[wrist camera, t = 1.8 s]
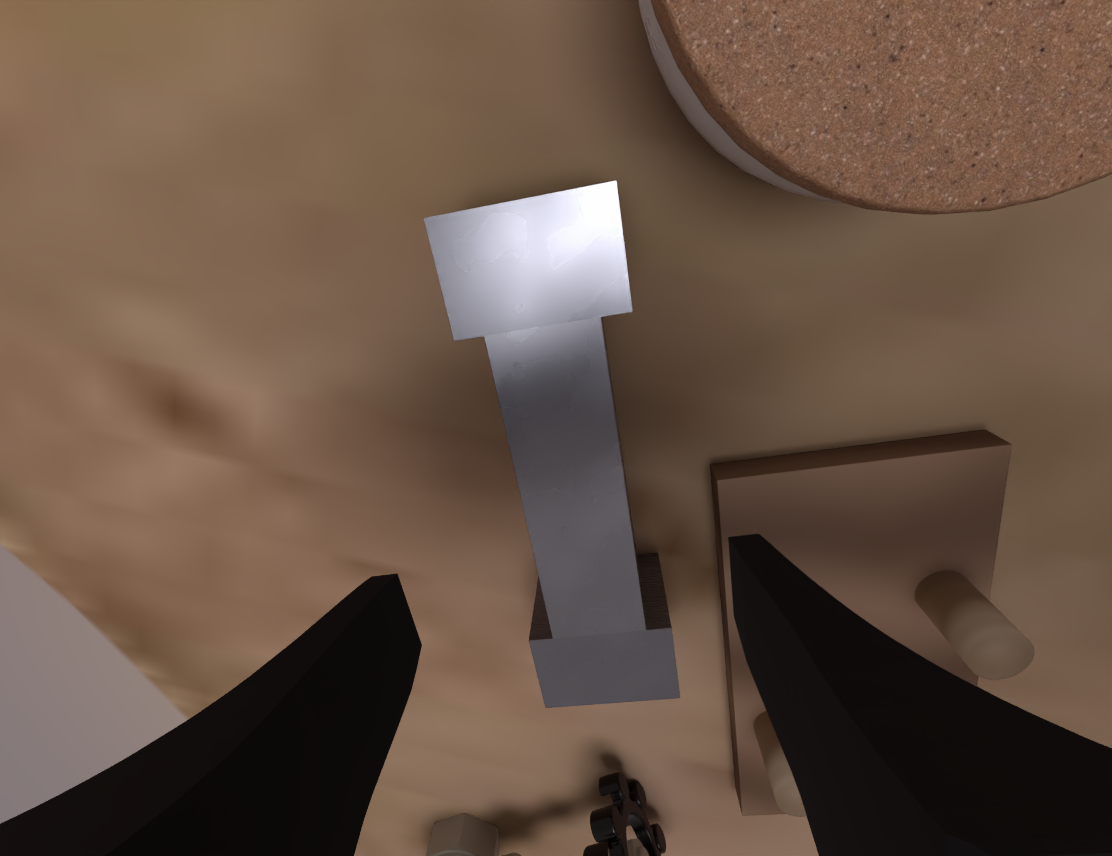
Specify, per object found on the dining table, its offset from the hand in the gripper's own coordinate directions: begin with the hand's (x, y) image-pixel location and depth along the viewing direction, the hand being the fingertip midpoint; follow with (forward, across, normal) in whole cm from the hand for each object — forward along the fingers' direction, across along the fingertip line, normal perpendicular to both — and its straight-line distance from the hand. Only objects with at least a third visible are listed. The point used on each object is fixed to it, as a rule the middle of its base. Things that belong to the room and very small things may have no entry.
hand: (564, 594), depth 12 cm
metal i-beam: (+8, 0, 0) cm, 8 cm away
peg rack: (+8, -9, +10) cm, 16 cm away
